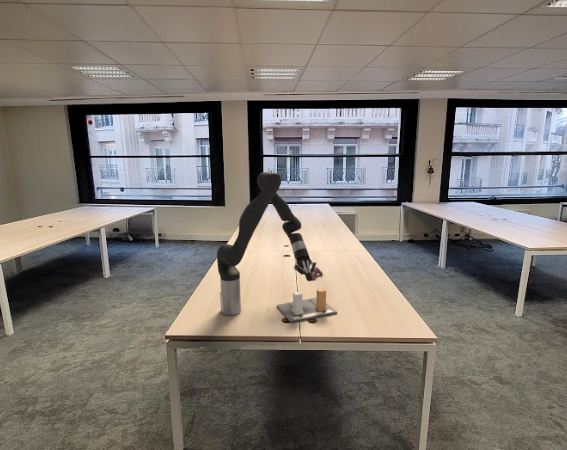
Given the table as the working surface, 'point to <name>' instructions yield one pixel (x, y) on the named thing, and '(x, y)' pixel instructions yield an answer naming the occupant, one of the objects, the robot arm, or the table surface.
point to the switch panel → (305, 311)
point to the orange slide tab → (321, 300)
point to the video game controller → (316, 270)
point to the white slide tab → (297, 303)
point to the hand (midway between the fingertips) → (310, 280)
